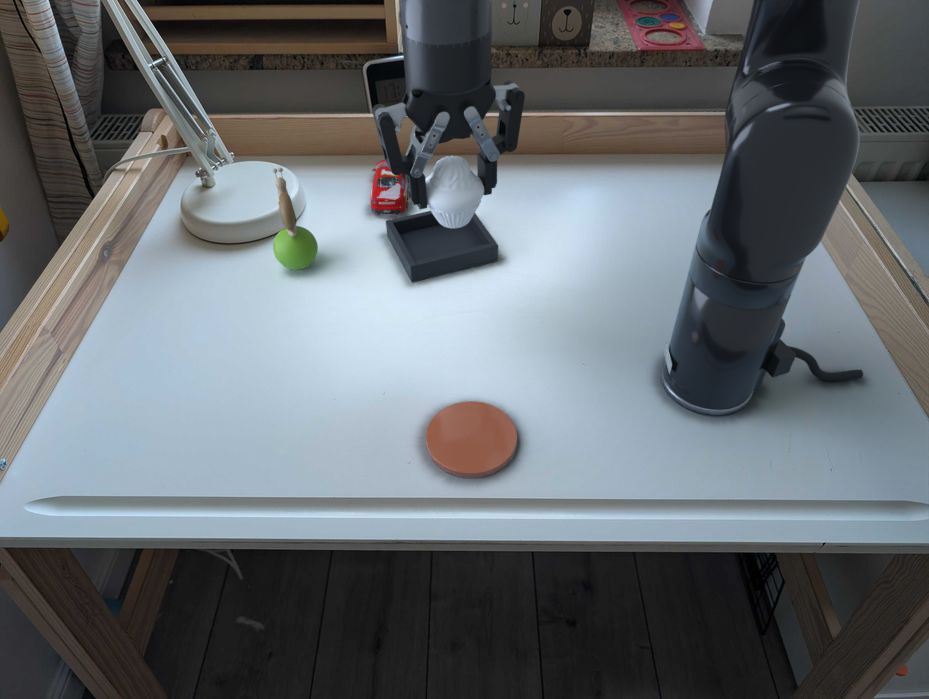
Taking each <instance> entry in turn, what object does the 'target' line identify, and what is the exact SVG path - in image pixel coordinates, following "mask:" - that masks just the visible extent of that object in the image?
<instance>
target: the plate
mask: <svg viewBox="0 0 929 699" xmlns="http://www.w3.org/2000/svg"><path fill="white" fill-rule="evenodd" d="M517 445H518V431H517V429H516V425H515V424H514V422H513V420H512V419H511V418H510V416H509V415H508V414H507V413H506V412H504V411H503V410H502V409H501V408H499V407H497V406H495V405H493V404H490V403H486V402H483V401H475V400H474V401H461V402H456V403H453V404H450V405H448V406H446V407H445V408H443V409H441V410H440V411H438V412H437V413H435V415H434V416H433V417H432V419H431V420H430V421H429V423H428V425H427V428H426V432H425V447H426V451H427V454H428V455H429V458H430V459H431V461H432V462H433V463H434V464H435V465H436V466H437V467H438V468H440V469H441V470H442V471H444V472H445V473H447V474H449V475H453V476H456V477H460V478H466V479H467V478H469V479H476V478H484V477H487V476H490V475H493V474H495V473H497V472H498V471H500V470H502V469H503V468H505V467H506V466H507V465H508V464H509V463H510V461H511V460H512V459H513V457H514V455H515V454H516V450H517Z"/></svg>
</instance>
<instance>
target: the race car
mask: <svg viewBox="0 0 929 699" xmlns="http://www.w3.org/2000/svg"><path fill="white" fill-rule="evenodd" d="M371 171H372V172H374V176H373V180H372V187H371V192H370V196H369V199H370V209H371V210H370V211H371V212H372V213H373V214H374V215H377V216H379V215H380V216H381V215H384V216H385V215H395V216H396V215H397V216H398V215H400V214H404V213H405V212H406V211H407V209H408V208H409V199H410V197H409V195H408V192H407V181H406V174H401V175H394V174H393V173H392V172H391V170H390V168H389V166H388V165H387V163H386V161H385V159H382V160H380V161H379V162H377V163H376V164H375V168H372V169H371Z"/></svg>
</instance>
